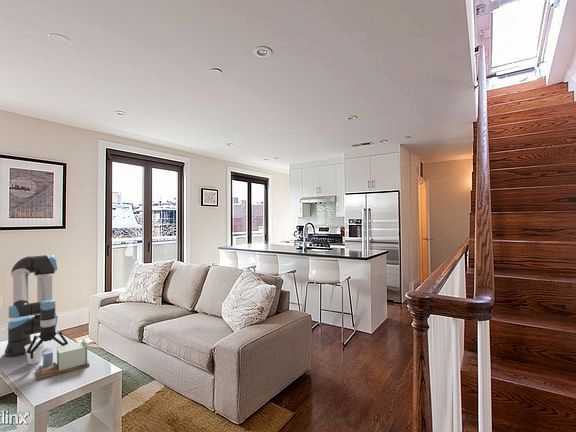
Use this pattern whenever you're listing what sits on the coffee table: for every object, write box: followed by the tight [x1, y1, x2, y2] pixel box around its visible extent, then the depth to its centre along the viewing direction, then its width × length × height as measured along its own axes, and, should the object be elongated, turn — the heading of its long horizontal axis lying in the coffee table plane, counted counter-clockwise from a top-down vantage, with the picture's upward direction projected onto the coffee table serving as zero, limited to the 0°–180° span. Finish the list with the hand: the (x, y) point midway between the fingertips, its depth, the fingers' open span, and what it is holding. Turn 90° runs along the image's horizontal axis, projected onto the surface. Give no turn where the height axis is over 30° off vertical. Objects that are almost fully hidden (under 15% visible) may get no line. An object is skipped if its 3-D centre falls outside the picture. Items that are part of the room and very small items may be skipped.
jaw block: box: [42, 350, 54, 367], centre depth 192 cm, size 4×4×8 cm
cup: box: [24, 341, 45, 365], centre depth 196 cm, size 10×10×11 cm
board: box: [35, 359, 90, 382], centre depth 187 cm, size 14×25×4 cm, turn 132°
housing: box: [56, 336, 88, 371], centre depth 190 cm, size 11×14×13 cm
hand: (47, 359), depth 191 cm, fingers open, 13 cm apart
